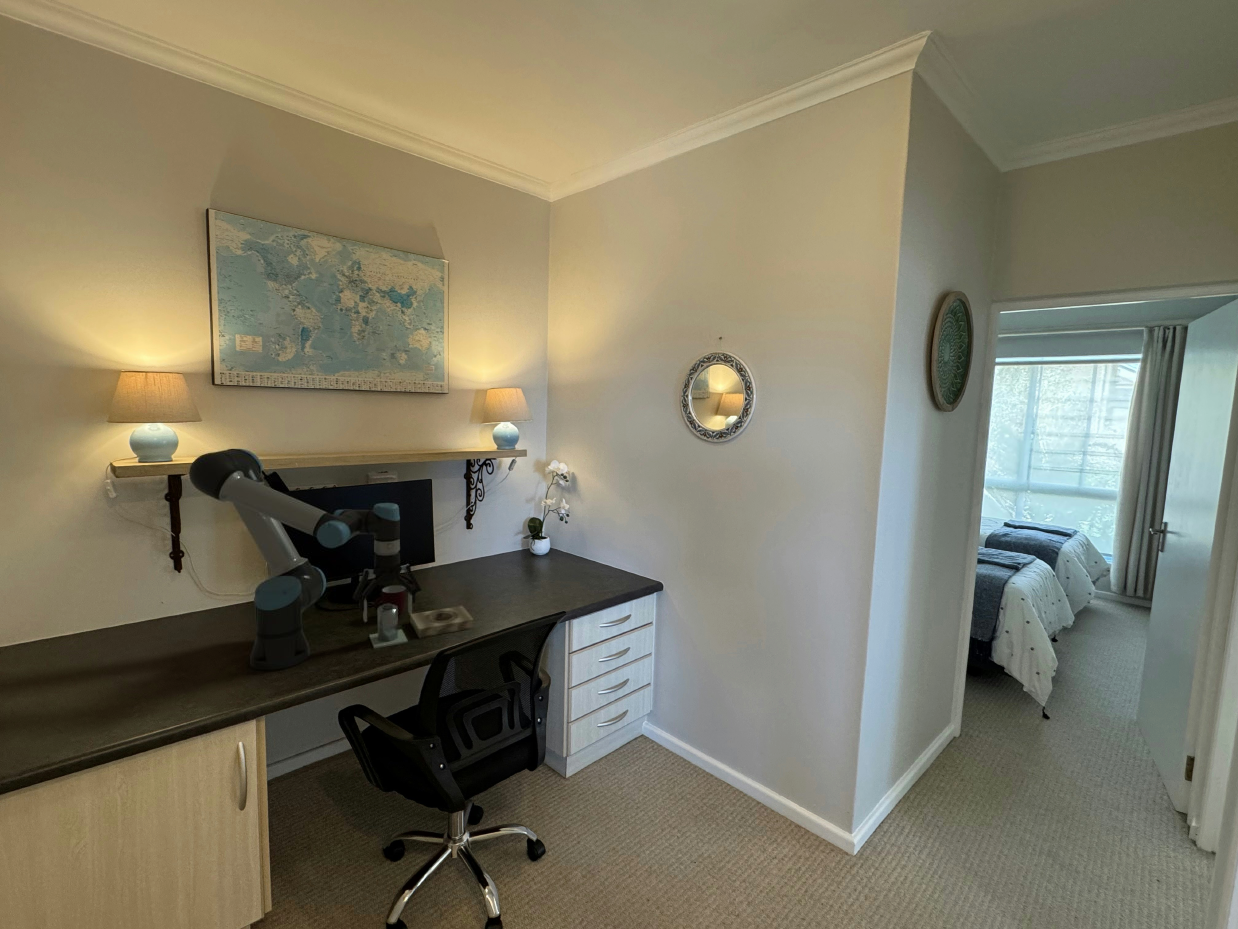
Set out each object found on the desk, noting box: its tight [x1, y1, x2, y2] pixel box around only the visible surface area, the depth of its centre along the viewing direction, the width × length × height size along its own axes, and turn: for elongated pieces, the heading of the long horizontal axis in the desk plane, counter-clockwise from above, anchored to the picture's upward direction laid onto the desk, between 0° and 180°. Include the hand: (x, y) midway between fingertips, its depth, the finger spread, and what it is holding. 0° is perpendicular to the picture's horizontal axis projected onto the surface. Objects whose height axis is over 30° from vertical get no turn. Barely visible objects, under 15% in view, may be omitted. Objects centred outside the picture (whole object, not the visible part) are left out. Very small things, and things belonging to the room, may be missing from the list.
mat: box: [368, 629, 409, 650], centre depth 186 cm, size 10×10×1 cm
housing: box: [409, 605, 475, 639], centre depth 198 cm, size 18×14×3 cm
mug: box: [373, 584, 407, 618], centre depth 203 cm, size 11×8×10 cm
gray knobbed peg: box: [376, 603, 399, 642], centre depth 185 cm, size 6×6×11 cm
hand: (388, 616), depth 185 cm, fingers open, 13 cm apart
